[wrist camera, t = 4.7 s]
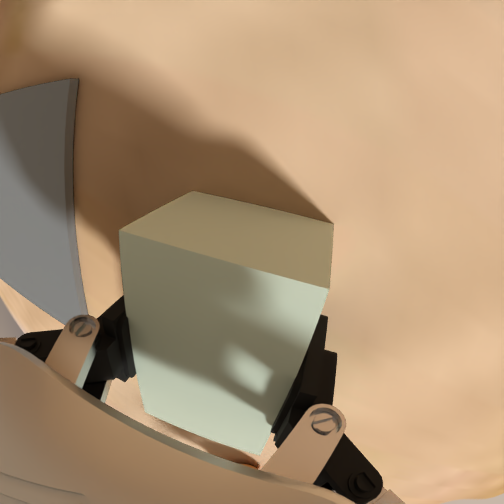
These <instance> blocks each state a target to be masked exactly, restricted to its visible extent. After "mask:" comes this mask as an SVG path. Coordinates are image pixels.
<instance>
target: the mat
mask: <svg viewBox="0 0 504 504" xmlns="http://www.w3.org/2000/svg"><path fill="white" fill-rule="evenodd" d="M78 82H79V79H65V80H60V81H54V82H49V83H44V84H39V85H35V86H30V87H26V88H22V89H18V90H14V91H10V92H7V93H3V94H0V278H1V279H2V280H3V281H4V282H6V283H7V284H8V285H9V286H11V287H12V288H13V289H14V290H16V291H17V292H18V293H20V294H21V295H22V296H24V297H25V298H26V299H28V300H29V301H30V302H32V303H33V304H35V305H36V306H37V307H39V308H40V309H42V310H43V311H45V312H46V313H48V314H49V315H50V316H52V317H53V318H55V319H56V320H58V321H60V322H61V323H63V324H64V325H66V323H67V322H68V321H69V320H70V319H71V318H73V317H75V316H78V315H88V311H87V306H86V301H85V296H84V290H83V284H82V278H81V272H80V265H79V257H78V249H77V240H76V230H75V217H74V200H73V137H74V121H75V109H76V99H77V90H78Z"/></svg>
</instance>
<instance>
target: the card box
mask: <svg viewBox="0 0 504 504" xmlns="http://www.w3.org/2000/svg"><path fill="white" fill-rule="evenodd" d="M333 231H334V224H332V223H328V222H324V221H320V220H316V219H312V218H309V217H305V216H301V215H297V214H293V213H289V212H285V211H281V210H276V209H272V208H268V207H264V206H260V205H255V204H251V203H247V202H242V201H238V200H234V199H229V198H224V197H220V196H215V195H211V194H206V193H201V192H196V191H191V192H189V193H187V194H185V195H183V196H181V197H179V198H177V199H175V200H173V201H171V202H169V203H167V204H165V205H164V206H162V207H160V208H158V209H156V210H154V211H152V212H150V213H148V214H147V215H145V216H143V217H141V218H139V219H137V220H136V221H134V222H132V223H130V224H128V225H127V226H125V227H123V228H121V229H120V230H119V246H120V260H121V273H122V283H123V293H124V301H125V309H126V317H128V321H129V329H130V337H131V344H132V351H133V357H134V363H135V369H136V374H137V379H138V384H139V388H140V393H141V397H142V401H143V405H144V409H145V412H146V413H148V414H150V415H152V416H154V417H157V418H159V419H161V420H163V421H165V422H167V423H170V424H172V425H174V426H177V427H179V428H181V429H184V430H186V431H189V432H191V433H194V434H196V435H199V436H201V437H204V438H207V439H210V440H212V441H215V442H218V443H221V444H224V445H227V446H230V447H233V448H236V449H239V450H242V451H246V452H249V453H253V454H256V455H260V454H261V452H262V450H263V448H264V446H265V444H266V442H267V440H268V438H269V436H270V434H271V428H272V425H273V423H274V421H275V419H276V417H277V415H278V413H279V411H280V409H281V407H282V405H283V403H284V401H285V399H286V397H287V395H288V392H289V390H290V388H291V386H292V384H293V382H294V379H295V378H296V376H297V374H298V371H299V369H300V366H301V364H302V361H303V359H304V356H305V354H306V351H307V349H308V346H309V344H310V341H311V339H312V336H313V333H314V331H315V328H316V325H317V323H318V320H319V317H320V314H321V312H322V309H323V306H324V303H325V300H326V297H327V294H328V292H329V287H330V275H331V263H332V248H333Z"/></svg>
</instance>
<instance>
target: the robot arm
mask: <svg viewBox="0 0 504 504" xmlns="http://www.w3.org/2000/svg"><path fill="white" fill-rule="evenodd" d="M327 322H328V317H327V316H324V315H320V317H319V320H318V323H317V325H316V328H315V331H314V333H313V336H312V339H311V341H310V344H309V346H308V349H307V351H306V354H305V356H304V359H303V361H302V364H301V366H300V369H299V371H298V374H297V376H296V378H295V379H294V382H293V384H292V386H291V388H290V390H289V392H288V395H287V397H286V399H285V401H284V403H283V405H282V407H281V409H280V411H279V413H278V415H277V417H276V419H275V421H274V423H273V425H272V428H271V433H275V436H274V440H273V441H276V442H275V445H276V447H277V448H278V450H277V451H276V452H275V453H274V454H273V456H272V457H271V458H270V459H269V461H268V462H267V463H266V464H265V465H264V467H263V468H262V469H261V470H257V469H254V468H251V467H248V466H244V465H241V464H238V463H235V462H232V461H229V460H226V459H223V458H220V457H217V456H215V455H212V454H209V453H206V452H204V451H201V450H199V449H196V448H194V447H191V446H189V445H186V444H184V443H182V442H179V441H177V440H175V439H173V438H170V437H168V436H166V435H164V434H162V433H159V432H157V431H155V430H153V429H151V428H149V427H147V426H145V425H143V424H141V423H139V422H137V421H135V420H133V419H132V418H130V417H128V416H126V415H124V414H122V413H121V412H119V411H117V410H115V409H114V408H112V407H110V406H108V405H107V404H105V401H106V398H107V395H108V392H109V388H110V385H111V382H112V380H114V379H115V378H118V379H120V380H122V381H124V382H126V381H127V379H128V378H129V377H131V378H132V377H134V376H135V374H136V369H135V363H134V357H133V351H132V344H131V337H130V329H129V321H128V317H126V309H125V301H124V295H123V296H122V297H121V298H120V299H118V300H117V301H116V302H115V303H114V304H113V305H112V306H111V307H109V308H108V309H107V310H106V311H105V312H104V313H103V314H102V315H101V316H100V317H98V318H97V319H96V318H95V317H93V316H90V315H78V316H75V317H73V318H71V319H70V320H69V321H68V322H67V323H66V325H65V327H64V329H60V330H51V331H41V332H30V333H26V334H24V335H22V336H21V337H19V338H18V340H16V338H0V504H405V503H404V502H403V501H402V500H401V499H400V498H399V497H397V496H396V495H395V494H394V493H393V492H392V491H391V490H388V491H387V490H386V489H385V488H384V487H383V481H382V477H381V475H380V474H379V472H378V471H377V470H376V469H375V468H374V467H373V465H372V464H371V463H370V462H369V461H368V460H367V459H366V458H365V457H364V455H363V454H362V453H361V452H360V451H359V450H358V449H357V448H356V446H355V445H354V444H353V443H352V442H351V441H350V440H349V438H348V437H347V436H346V435H345V434H344V431H345V428H346V419H345V417H344V415H343V414H342V412H341V411H340V410H338V409H337V408H336V407H334V406H332V404H333V395H334V386H335V376H336V365H337V353H335V352H331V351H327V350H324V348H325V340H326V331H327Z"/></svg>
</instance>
